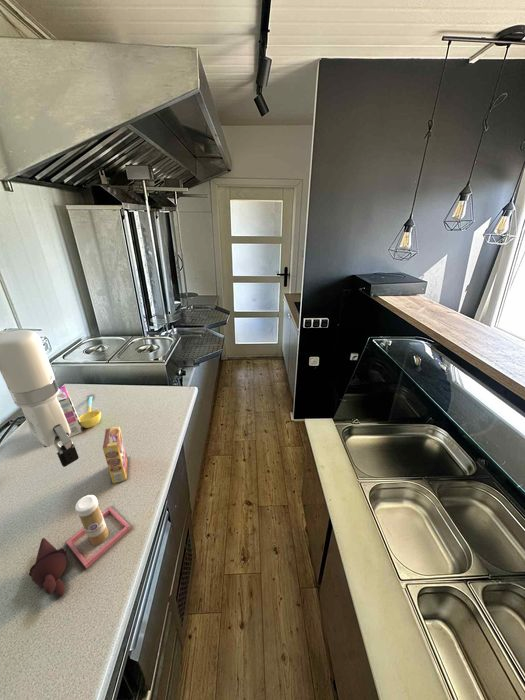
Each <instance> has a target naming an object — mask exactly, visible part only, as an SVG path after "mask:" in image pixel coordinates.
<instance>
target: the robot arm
mask: <svg viewBox="0 0 525 700" xmlns="http://www.w3.org/2000/svg"><path fill="white" fill-rule="evenodd" d="M0 374H1V376H2V379H3V381H4V383H5V385H6V387H7V389H8V391H9V394H10V396H11V398H12V400H13V403H14V404H15V406H16V407H18V408H21V410H22V413H23V415H24V418H25V420H26V423H27V426H28V428H29V431H30V432H31V433H32V434H33V435H34V437H35V438H36V439H37V440H38V441H39V442H40V443H41V444H42V446H43V447H44V448H48V447H51V446H53V445H54V448H55V449H56V450H57V452H56V454H57V457H58V459H59V461H60V464H61V466H62V467H63V468H65V467H67V466H69V465H71V464H72V463H74V462H76V461H77V460H79V454H78V452H77V449H76V446H75V444H74V442H73V441H72V439H71V437H69V436H70V434H71V432H70V428H69V425H68V422H67V420H66V417H65V415H64V413H63V410H62V408H61V406H60V404H59V401H58V399H57V397H56V396H57V395H58V393H59V388H60V387H59V385H58V382H57V379H56V376H55V374H54V371H53V368H52V366H51V363H50V360H49V358H48V355H47V352H46V349H45V347H44V343H43V341H42V338H41V336H40V335H39V334H38V333H37V332H35V331H34V330H31V329H30V330H29V329H18V330H12V331H2V330H0ZM59 442H61V444H62V445H60V444H59Z"/></svg>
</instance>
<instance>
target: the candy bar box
mask: <svg viewBox="0 0 525 700" xmlns="http://www.w3.org/2000/svg"><path fill="white" fill-rule="evenodd" d="M56 397H57V399H58V401H59V404H60V406H61V408H62V410H63V413H64V415H65V417H66V420H67V422H68V425H69V428H70V432H71V434H70V436H69V438H72V437H73V436H77V435H79V434H81V433H84V427H82V426H81V424H80V420H79V418H78V417H79V415H78V413H77V410H76V407H75V405H74V403H73V400H72V398H71V396H70V394H69V392H68V389H67V387H66V386H65V385H63V386H60V387H59V393H58V395H57V396H56Z"/></svg>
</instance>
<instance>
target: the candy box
mask: <svg viewBox="0 0 525 700" xmlns="http://www.w3.org/2000/svg"><path fill="white" fill-rule="evenodd" d="M104 432H105V433H104V437H103V444H102V450H103V454H104V456H105V461H106V465H107V469H108V471H109V475H110V478H111V481H112V484H116V483H120V482H123V481H126V480H127V477H128V463H129V459H128V455H127V450H126V446H125V443H124V439H123V435H122V431H121V427H120V426H113V427H109V428H105V431H104Z"/></svg>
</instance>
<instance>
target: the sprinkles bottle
mask: <svg viewBox="0 0 525 700" xmlns="http://www.w3.org/2000/svg"><path fill="white" fill-rule="evenodd" d="M74 510H75V513H76V515H77V516H78V517H79V519H80V522H81V524H82V526H83V528H84V530H85V532H86V533H85V534H86V536H87V538H88V540H89V543H90V545H92V546H98V545H99V546H100V545H101V544H102V543H104V542H105V541H106V540H107V539H108V537H109V535H110V530H109V529H108V527H107V524H106V521H105V517H104V518H103V515H102V513H103V512H102V510H101V508H100V506H99V501H98V498H97V497H96V496H95V495H94V494H87V495H85V496H83V497H81V498H79V499H78V501H77V502H76V504H75V506H74Z"/></svg>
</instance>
